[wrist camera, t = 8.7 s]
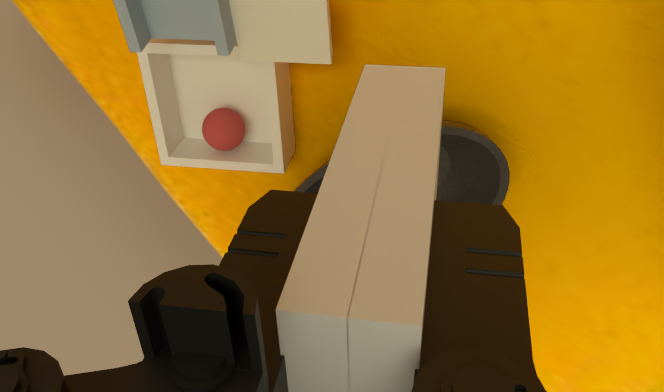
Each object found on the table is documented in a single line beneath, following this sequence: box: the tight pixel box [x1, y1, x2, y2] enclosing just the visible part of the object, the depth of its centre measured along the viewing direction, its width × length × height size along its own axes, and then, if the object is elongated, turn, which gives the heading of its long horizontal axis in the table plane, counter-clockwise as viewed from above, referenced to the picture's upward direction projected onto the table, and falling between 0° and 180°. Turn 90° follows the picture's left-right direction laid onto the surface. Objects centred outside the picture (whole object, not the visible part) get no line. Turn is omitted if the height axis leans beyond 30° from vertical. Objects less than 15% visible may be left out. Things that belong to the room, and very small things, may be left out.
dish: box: [137, 38, 296, 174], centre depth 50 cm, size 11×11×4 cm
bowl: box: [294, 120, 509, 205], centre depth 51 cm, size 12×22×6 cm, turn 131°
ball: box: [202, 108, 245, 151], centre depth 51 cm, size 4×4×4 cm
